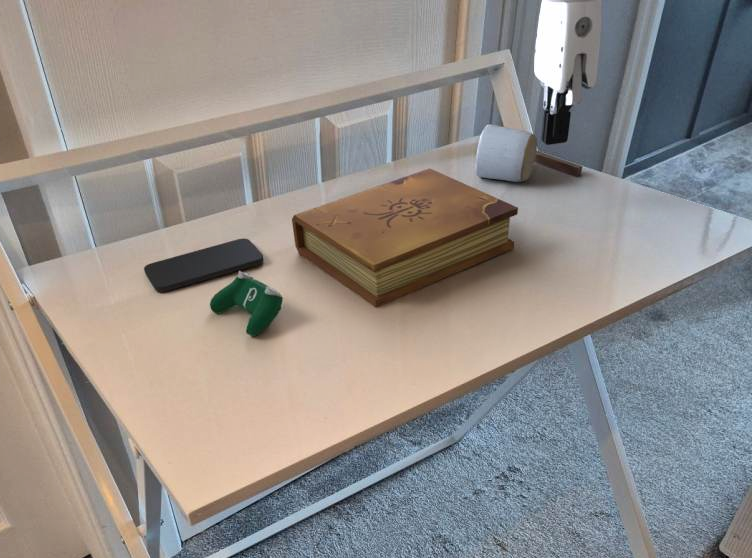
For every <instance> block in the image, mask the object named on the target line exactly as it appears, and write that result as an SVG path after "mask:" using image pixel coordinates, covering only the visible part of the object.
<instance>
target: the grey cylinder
mask: <svg viewBox="0 0 752 558" xmlns="http://www.w3.org/2000/svg"><path fill="white" fill-rule="evenodd" d="M537 149H538V138H537V135H535V134H534V133H532V132H530V131H526V130H522V129H516V128H511V127H505V126H502V125H501V126H500V125H496V124H491V123H489V124H487V125H486V126H484V128H483V130H482V132H481V134H480V137H479V141H478V143H477V151H476V155H475V174H476V176H477V177H478V178H484V179H490V180H491V179H492V180H499V181H507V182H515V183H517V182H519V183H520V182H525V181H527V180H528V179H529V177H530V176H531V175H532V171H533V168H534V165H535V162H534V161H535V157H536V151H538V150H537Z"/></svg>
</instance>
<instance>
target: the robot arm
mask: <svg viewBox="0 0 752 558" xmlns="http://www.w3.org/2000/svg"><path fill="white" fill-rule="evenodd" d="M602 4H603V3H602V0H541V4H540V10H539V15H538V24H537V31H536V39H535V46H534V47H535V48H534V60H533V61H534V62H533V70H534V71H533V72H534V75H535V77H536V78H537V79H538V80H539V82H540V86H541V87H542V89H543V103H542V104H543V105H542V106H543V109H544V110H543V114H542V115H543V116H542V126H541V136H540V140H541V142H543V143H544V144H545V145H547V146H551V145H558V144H565V143H566V142H568V139H569V133H570V132H569V131H570V124H571V115H572V112H573V111H574V107H575V105H580V104H581V102H582V88H583V89H585V90H588V91H589V90H593V88H594V87H595V86H596V83H597V76H598V69H599V59H600V49H601V38H602V37H601V36H602V18H603V17H602V15H603V14H602V13H603V12H602V11H603V9H602V8H603V7H602Z"/></svg>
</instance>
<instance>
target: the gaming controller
mask: <svg viewBox="0 0 752 558" xmlns="http://www.w3.org/2000/svg"><path fill="white" fill-rule="evenodd" d="M283 299H284V297H283V296H282V294H281V293H280V291H278V290H277V289H275V288H273V287H271V286H269V285H267V284H266V283H264V282H262V281H259V280H257V279H255V278H254V277H253V276H252V275H250V274H248V273H246V272H243V271H241V270H238V274H237V276H236V277H235V278H234V280H233V281H231V283H229V284H227V285H226V286H225V287H223V288H221V289H220V290H219V291H217V292H216V293H215V294H214V295H213V296H212V298H211V299H210V302H209V307H210V310H211V312H213V314H220V313H219V312H221V313H224V312H226V311H227V310H230V309H231V308H234V307H238V308H240V309H242V310H243V311H245V312H246V313H249V314H250V317H249V319H248V322H247V325H246V328H245V330H246V331H245V333H246V334H247V335H249V336H250V337H252V338H255V337H256V336H257V335H259V334H261V333H262V332H263V331H264V330H265V329H267V327H269V326H270V325H271V323H272V322H273V321H274V320H275V319H276V317H277V316H278V315H279V313H280V311H281V310H282V304H283ZM223 311H224V312H223Z"/></svg>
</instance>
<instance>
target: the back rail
mask: <svg viewBox="0 0 752 558" xmlns="http://www.w3.org/2000/svg"><path fill="white" fill-rule="evenodd" d="M535 163H536V164H538V165H541V166H544V167H547V168H549V169H552V170H555V171H558V172H561V173H564V174H567V175H569V176H572V177H574V178H579V177H581V176H582V173H583V172H582V171H583V165H580V164H576V163H574V162H571V161H569V160H565V159H562V158H560V157H558V156H553V155H552V154H548V153H545V152H542V151H539V150H537V151H536V157H535V161H534V164H535Z"/></svg>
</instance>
